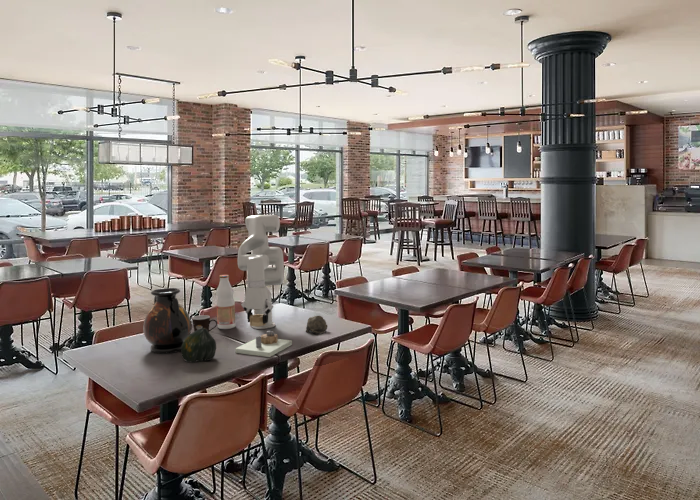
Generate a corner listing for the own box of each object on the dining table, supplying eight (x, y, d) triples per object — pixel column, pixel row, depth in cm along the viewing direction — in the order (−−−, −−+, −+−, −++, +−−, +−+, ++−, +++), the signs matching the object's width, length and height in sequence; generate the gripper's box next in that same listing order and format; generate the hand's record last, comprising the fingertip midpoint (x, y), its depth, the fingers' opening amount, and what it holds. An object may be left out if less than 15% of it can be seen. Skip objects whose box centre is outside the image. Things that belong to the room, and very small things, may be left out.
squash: (170, 348, 244) (184, 326, 238) (197, 341, 257) (211, 320, 250) (187, 374, 239) (202, 352, 233) (213, 365, 252) (229, 344, 245)
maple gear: (246, 325, 253) (246, 316, 252) (255, 321, 259) (254, 313, 259) (260, 327, 250) (260, 318, 249) (269, 323, 256) (268, 314, 256)
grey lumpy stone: (317, 335, 279) (309, 316, 281) (306, 340, 285) (298, 322, 286) (331, 329, 288) (324, 311, 289) (320, 335, 293) (312, 317, 295)
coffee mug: (189, 338, 280) (188, 318, 279) (201, 333, 288) (200, 314, 286) (207, 340, 275) (206, 320, 273) (219, 336, 282) (218, 316, 281)
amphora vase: (202, 347, 263) (198, 289, 260) (160, 359, 247) (156, 297, 244) (177, 339, 278) (174, 284, 274) (136, 350, 262) (131, 291, 258)
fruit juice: (222, 330, 293) (220, 277, 290) (214, 327, 300) (211, 275, 297) (238, 327, 299) (236, 275, 296) (230, 323, 306) (228, 273, 303)
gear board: (235, 352, 255) (234, 337, 254) (259, 340, 273) (259, 326, 272) (269, 357, 247) (268, 341, 247) (292, 344, 266) (291, 329, 265)
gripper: (235, 284, 252) (236, 322, 254) (268, 286, 245) (269, 326, 247) (244, 281, 259) (246, 318, 261) (277, 283, 252) (278, 321, 254)
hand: (257, 322), depth 254 cm, fingers closed on maple gear, 7 cm apart
